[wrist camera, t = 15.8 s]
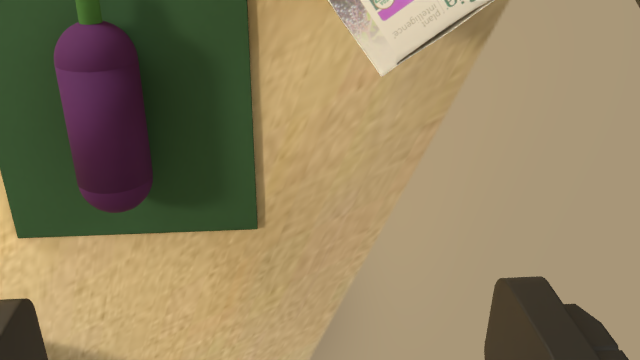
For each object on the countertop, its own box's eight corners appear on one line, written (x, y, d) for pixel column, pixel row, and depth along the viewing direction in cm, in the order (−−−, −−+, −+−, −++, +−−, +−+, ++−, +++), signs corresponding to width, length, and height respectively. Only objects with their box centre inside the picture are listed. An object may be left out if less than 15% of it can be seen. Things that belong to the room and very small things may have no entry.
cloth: (244, -48, 34) (244, -47, 34) (257, 226, 42) (257, 229, 42) (-53, -47, 33) (-56, -46, 33) (19, 235, 41) (17, 238, 41)
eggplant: (140, -13, 34) (111, 2, 30) (165, 192, 40) (144, 227, 36) (63, -15, 34) (24, 0, 30) (99, 190, 40) (71, 224, 36)
